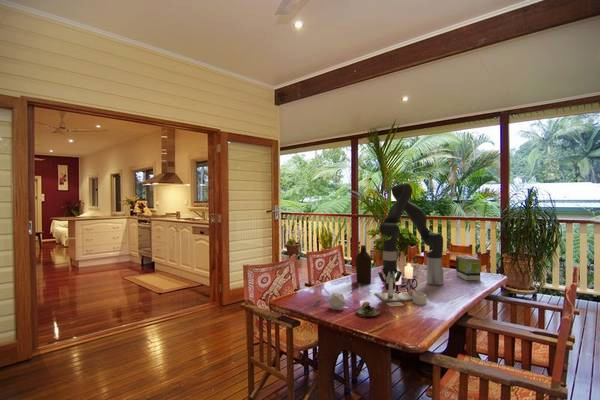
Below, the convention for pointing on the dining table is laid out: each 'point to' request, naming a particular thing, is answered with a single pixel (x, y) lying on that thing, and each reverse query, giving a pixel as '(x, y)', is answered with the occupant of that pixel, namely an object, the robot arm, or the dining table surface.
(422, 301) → the pen cup
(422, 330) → the dining table surface
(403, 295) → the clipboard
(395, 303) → the word card
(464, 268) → the tea box
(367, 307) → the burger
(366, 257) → the olive oil
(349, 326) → the dining table surface
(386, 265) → the robot arm
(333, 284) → the dining table surface
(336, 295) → the white faceted polyhedron
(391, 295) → the marker
